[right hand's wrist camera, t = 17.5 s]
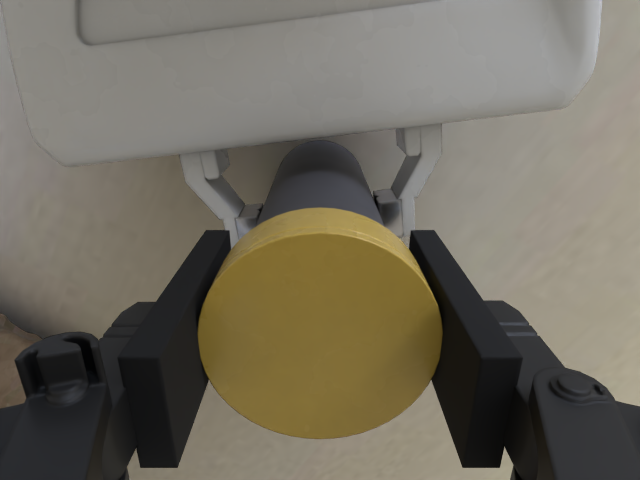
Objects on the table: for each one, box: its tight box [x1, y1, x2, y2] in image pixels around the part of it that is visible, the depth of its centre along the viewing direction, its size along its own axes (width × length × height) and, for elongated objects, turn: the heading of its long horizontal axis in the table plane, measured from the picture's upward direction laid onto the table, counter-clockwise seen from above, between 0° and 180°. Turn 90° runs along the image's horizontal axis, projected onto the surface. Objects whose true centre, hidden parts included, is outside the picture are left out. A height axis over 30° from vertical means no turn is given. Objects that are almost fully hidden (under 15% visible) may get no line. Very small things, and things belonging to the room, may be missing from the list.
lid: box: [197, 207, 443, 439], centre depth 11 cm, size 6×6×2 cm
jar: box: [255, 141, 385, 227], centre depth 18 cm, size 5×5×15 cm
